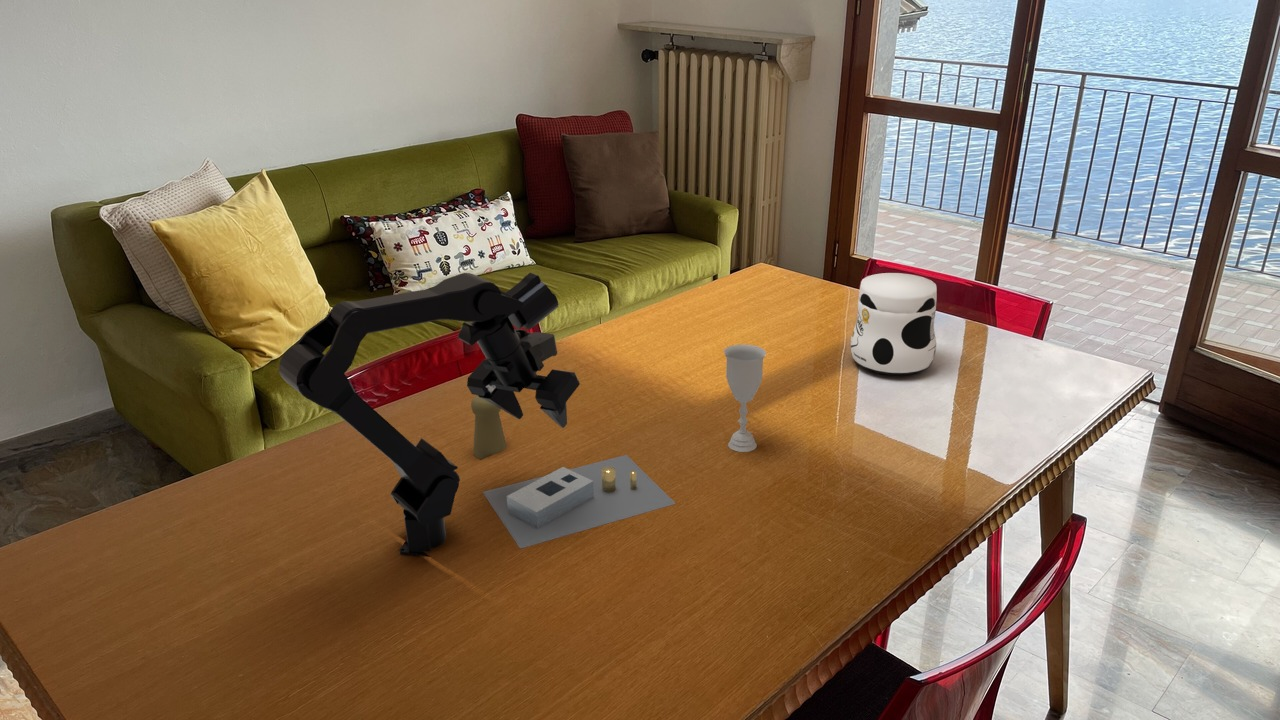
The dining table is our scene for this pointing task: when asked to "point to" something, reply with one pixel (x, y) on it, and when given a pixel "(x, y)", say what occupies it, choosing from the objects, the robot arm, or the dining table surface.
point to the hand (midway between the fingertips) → (542, 421)
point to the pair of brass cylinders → (609, 480)
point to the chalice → (744, 387)
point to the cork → (487, 429)
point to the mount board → (586, 503)
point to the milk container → (895, 324)
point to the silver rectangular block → (550, 497)
